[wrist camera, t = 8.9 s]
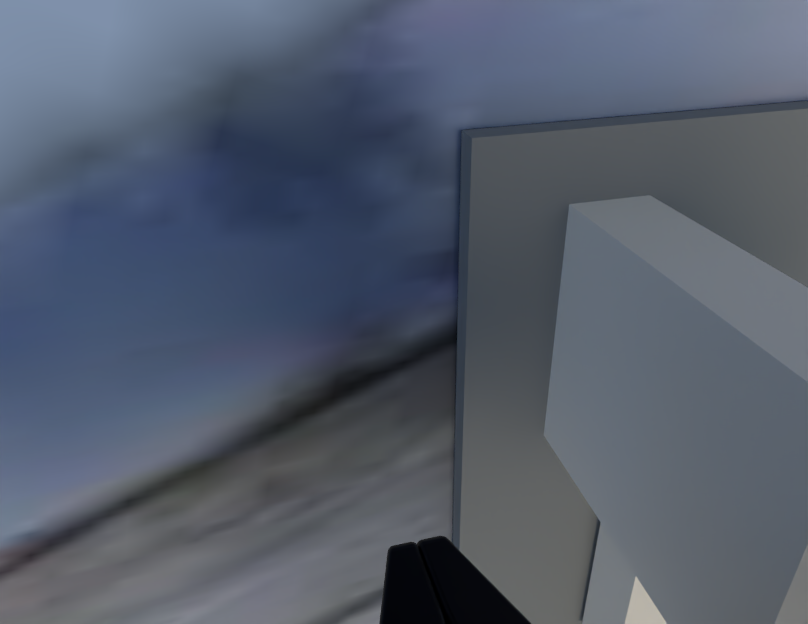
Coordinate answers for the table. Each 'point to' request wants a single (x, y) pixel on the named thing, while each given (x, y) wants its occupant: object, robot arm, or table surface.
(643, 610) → the tile
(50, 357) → the table surface
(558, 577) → the slate mat
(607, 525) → the tile
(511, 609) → the robot arm
